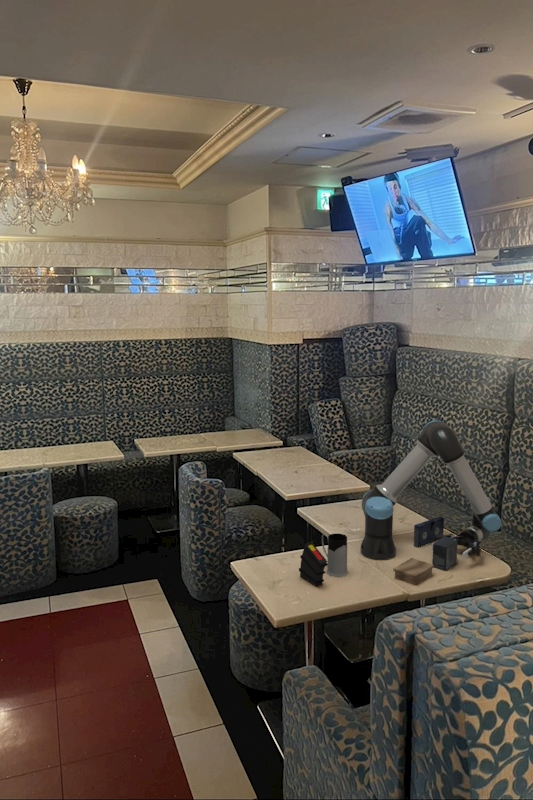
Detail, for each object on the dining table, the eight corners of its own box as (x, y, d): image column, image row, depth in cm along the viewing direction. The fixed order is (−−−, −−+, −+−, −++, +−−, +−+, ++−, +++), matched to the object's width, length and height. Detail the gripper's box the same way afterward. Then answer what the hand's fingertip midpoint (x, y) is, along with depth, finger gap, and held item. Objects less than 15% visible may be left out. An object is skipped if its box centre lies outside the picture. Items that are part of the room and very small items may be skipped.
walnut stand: (393, 578, 243) (393, 568, 242) (411, 567, 253) (411, 557, 252) (415, 586, 236) (416, 576, 235) (433, 574, 246) (433, 564, 246)
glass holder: (335, 579, 242) (336, 542, 240) (313, 566, 254) (313, 531, 252) (352, 573, 247) (353, 538, 245) (330, 561, 259) (330, 527, 256)
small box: (442, 559, 261) (443, 535, 259) (457, 563, 257) (458, 539, 255) (431, 567, 253) (432, 542, 251) (446, 571, 249) (447, 546, 247)
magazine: (301, 568, 249) (311, 541, 241) (320, 592, 240) (331, 565, 232) (294, 570, 247) (304, 543, 239) (312, 595, 238) (323, 567, 230)
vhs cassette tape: (439, 536, 286) (439, 516, 284) (444, 538, 283) (445, 517, 282) (412, 546, 275) (413, 524, 273) (417, 548, 273) (418, 526, 271)
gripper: (498, 553, 262) (476, 568, 246) (443, 538, 278) (420, 552, 263) (499, 536, 260) (477, 551, 245) (444, 522, 277) (420, 535, 262)
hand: (447, 551), depth 254 cm, fingers open, 13 cm apart
